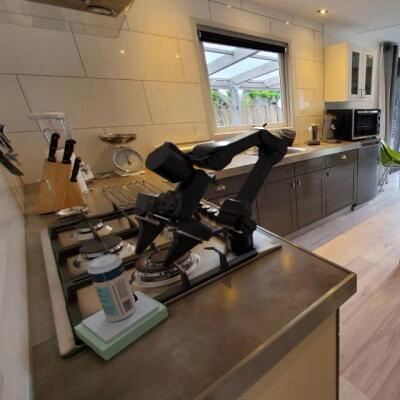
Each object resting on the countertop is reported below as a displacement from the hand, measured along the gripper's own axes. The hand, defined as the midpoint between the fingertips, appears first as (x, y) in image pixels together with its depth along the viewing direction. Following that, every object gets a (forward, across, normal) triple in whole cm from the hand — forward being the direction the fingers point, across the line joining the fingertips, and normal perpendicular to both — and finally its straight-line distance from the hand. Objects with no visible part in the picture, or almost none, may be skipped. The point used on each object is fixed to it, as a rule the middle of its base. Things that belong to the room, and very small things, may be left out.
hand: (150, 260), depth 51 cm
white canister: (+10, 0, 0) cm, 11 cm away
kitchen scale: (+13, 0, +2) cm, 13 cm away
